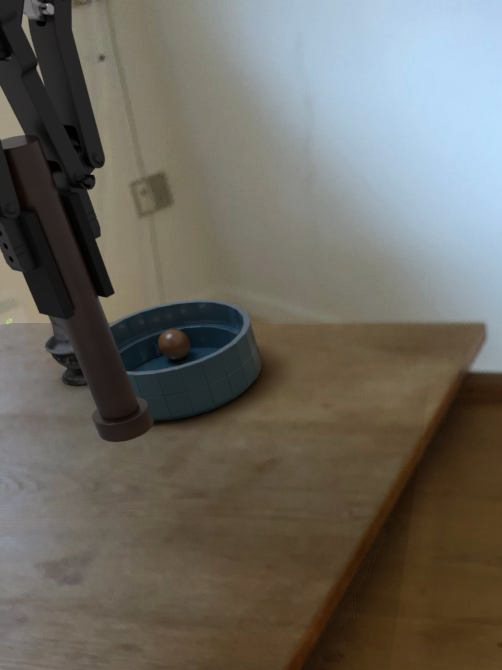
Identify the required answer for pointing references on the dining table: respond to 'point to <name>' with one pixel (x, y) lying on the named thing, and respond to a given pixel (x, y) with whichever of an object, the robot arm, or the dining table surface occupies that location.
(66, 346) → the salt shaker
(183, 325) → the bowl
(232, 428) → the dining table surface
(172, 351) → the brown ball
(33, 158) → the brown pestle
